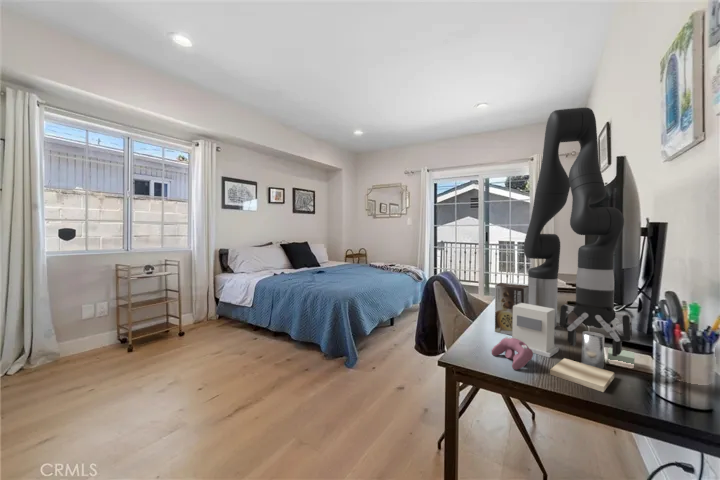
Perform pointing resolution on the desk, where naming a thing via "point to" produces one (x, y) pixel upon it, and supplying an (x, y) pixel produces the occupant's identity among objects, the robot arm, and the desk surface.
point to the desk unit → (535, 328)
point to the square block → (622, 356)
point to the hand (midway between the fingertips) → (593, 350)
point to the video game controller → (510, 347)
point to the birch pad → (583, 374)
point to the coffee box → (508, 304)
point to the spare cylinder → (593, 349)
